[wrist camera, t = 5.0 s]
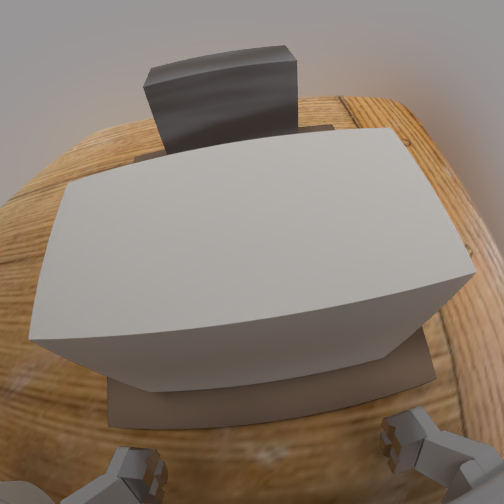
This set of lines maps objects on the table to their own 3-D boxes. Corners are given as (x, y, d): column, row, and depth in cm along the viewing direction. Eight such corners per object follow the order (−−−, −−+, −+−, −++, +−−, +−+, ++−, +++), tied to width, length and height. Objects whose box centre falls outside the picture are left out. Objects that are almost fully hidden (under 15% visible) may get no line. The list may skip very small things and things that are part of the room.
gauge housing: (419, 347, 14) (522, 257, 6) (150, 392, 14) (28, 339, 6) (373, 219, 18) (407, 96, 11) (151, 254, 19) (84, 143, 11)
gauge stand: (425, 383, 14) (531, 328, 6) (120, 428, 15) (0, 405, 7) (330, 137, 26) (336, 43, 18) (140, 168, 27) (103, 83, 19)
